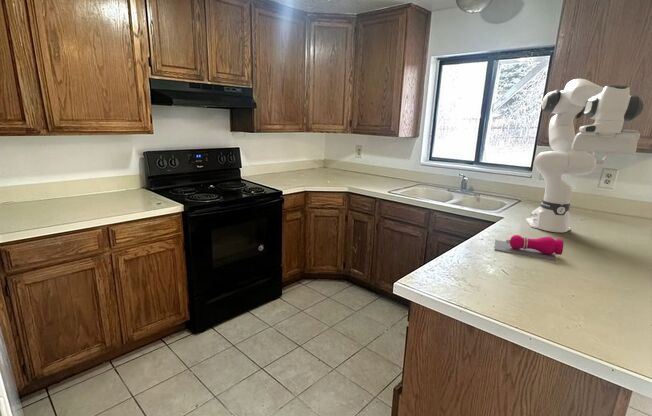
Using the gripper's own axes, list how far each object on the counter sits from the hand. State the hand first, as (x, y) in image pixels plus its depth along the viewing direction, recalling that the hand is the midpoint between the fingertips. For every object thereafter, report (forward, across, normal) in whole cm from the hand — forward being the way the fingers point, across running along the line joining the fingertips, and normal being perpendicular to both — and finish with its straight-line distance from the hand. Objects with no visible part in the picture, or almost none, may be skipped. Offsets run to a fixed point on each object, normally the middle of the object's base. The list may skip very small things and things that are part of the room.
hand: (598, 164), depth 139 cm
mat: (+37, +21, +12) cm, 44 cm away
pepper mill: (+33, +8, +13) cm, 36 cm away
